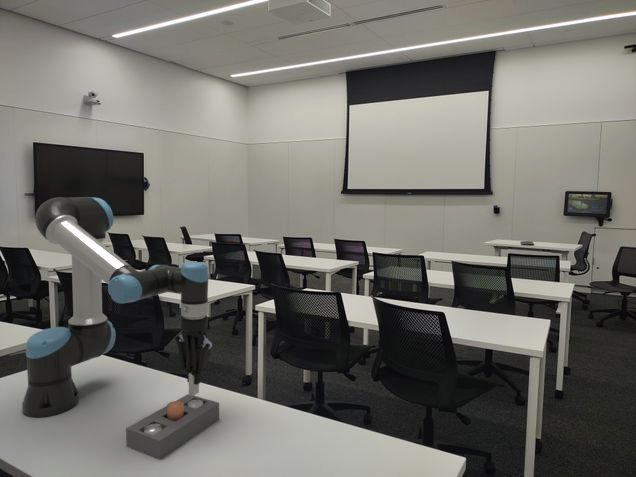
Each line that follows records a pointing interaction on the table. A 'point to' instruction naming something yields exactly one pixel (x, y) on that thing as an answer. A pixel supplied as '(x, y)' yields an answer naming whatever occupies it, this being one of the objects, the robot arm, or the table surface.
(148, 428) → the steel button near
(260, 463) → the table surface
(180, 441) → the button console
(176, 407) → the terracotta button
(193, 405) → the steel button far
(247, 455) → the table surface
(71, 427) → the table surface
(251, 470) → the table surface
